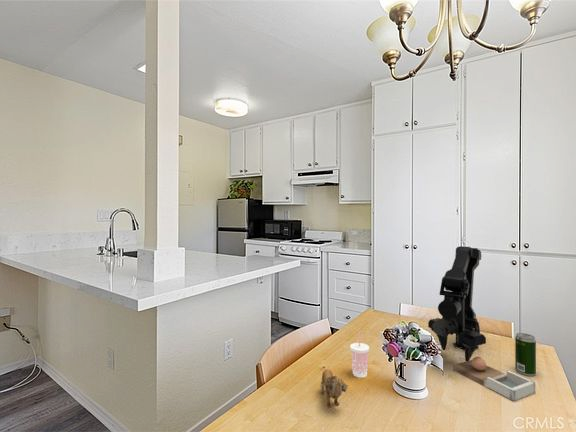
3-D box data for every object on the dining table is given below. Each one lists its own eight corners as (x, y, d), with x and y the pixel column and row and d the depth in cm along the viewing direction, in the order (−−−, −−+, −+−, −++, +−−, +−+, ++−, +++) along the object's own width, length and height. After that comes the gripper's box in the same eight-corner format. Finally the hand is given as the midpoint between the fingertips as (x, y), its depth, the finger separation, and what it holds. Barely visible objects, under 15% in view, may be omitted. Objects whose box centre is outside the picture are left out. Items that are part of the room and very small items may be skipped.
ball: (468, 368, 101) (468, 356, 101) (477, 365, 102) (477, 353, 102) (480, 373, 97) (480, 361, 97) (489, 371, 98) (489, 358, 98)
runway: (453, 369, 103) (453, 365, 103) (473, 363, 107) (473, 359, 107) (486, 387, 92) (486, 382, 92) (508, 380, 96) (508, 375, 96)
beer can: (532, 378, 97) (532, 340, 97) (512, 371, 101) (512, 335, 101) (538, 373, 100) (538, 336, 100) (519, 366, 104) (519, 331, 104)
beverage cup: (372, 373, 101) (372, 331, 101) (363, 381, 96) (363, 336, 96) (356, 367, 105) (356, 326, 105) (346, 374, 100) (346, 331, 100)
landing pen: (486, 387, 92) (486, 377, 92) (508, 380, 96) (508, 370, 96) (513, 401, 85) (513, 390, 85) (535, 392, 89) (535, 382, 89)
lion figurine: (350, 412, 81) (350, 379, 81) (331, 416, 80) (331, 382, 80) (328, 383, 95) (328, 354, 95) (312, 386, 94) (312, 356, 94)
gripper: (416, 306, 113) (417, 348, 113) (462, 322, 96) (462, 372, 96) (439, 302, 117) (439, 343, 117) (486, 318, 100) (487, 365, 100)
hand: (455, 355), depth 107 cm, fingers open, 9 cm apart
